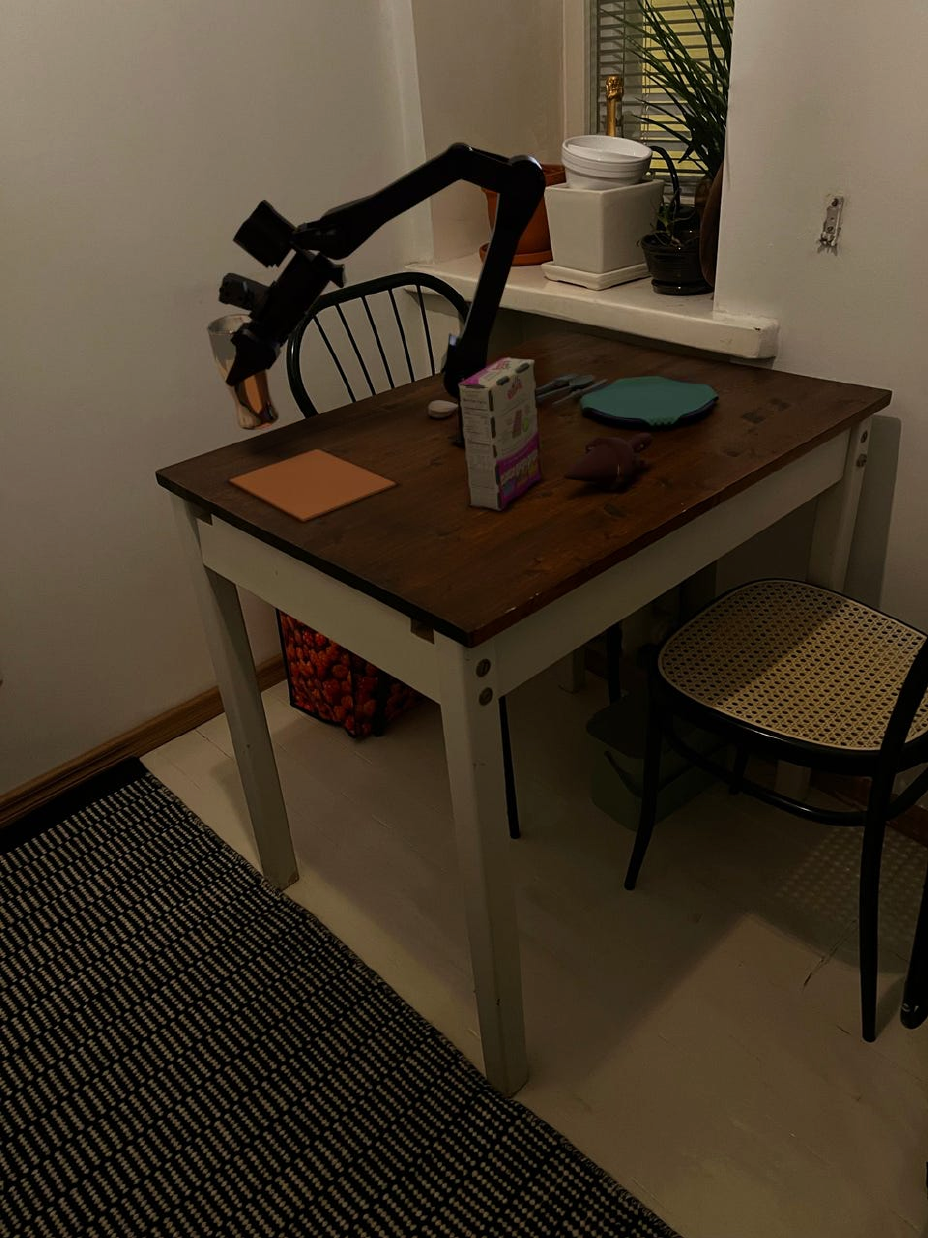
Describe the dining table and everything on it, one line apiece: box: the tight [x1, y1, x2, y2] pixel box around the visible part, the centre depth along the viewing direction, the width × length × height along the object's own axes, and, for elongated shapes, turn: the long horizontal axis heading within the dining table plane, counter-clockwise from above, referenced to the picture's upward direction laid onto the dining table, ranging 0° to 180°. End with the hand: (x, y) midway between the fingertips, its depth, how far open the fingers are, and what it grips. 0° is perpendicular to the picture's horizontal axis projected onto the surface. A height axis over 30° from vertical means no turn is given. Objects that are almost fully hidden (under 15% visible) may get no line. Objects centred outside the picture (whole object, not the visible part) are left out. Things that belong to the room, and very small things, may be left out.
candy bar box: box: [458, 356, 542, 512], centre depth 122 cm, size 11×5×16 cm, turn 148°
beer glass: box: [206, 313, 280, 431], centre depth 137 cm, size 7×7×15 cm
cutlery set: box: [536, 372, 720, 428], centre depth 151 cm, size 20×30×2 cm, turn 46°
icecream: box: [562, 432, 654, 492], centre depth 123 cm, size 7×7×15 cm
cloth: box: [228, 448, 397, 523], centre depth 134 cm, size 20×15×1 cm
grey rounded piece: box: [427, 399, 459, 419], centre depth 153 cm, size 4×5×2 cm
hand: (234, 376), depth 137 cm, fingers closed on beer glass, 7 cm apart
